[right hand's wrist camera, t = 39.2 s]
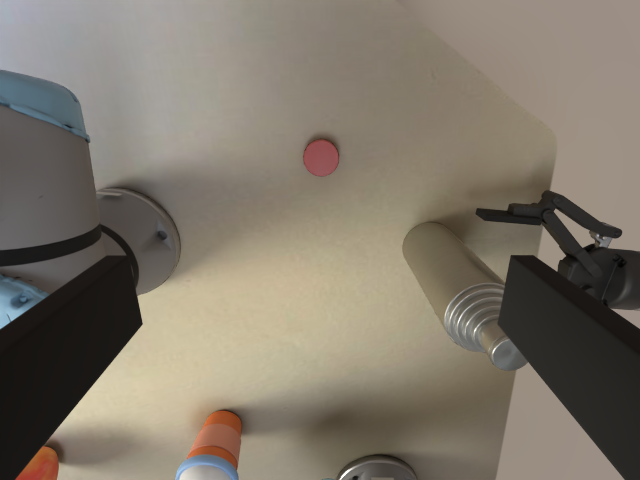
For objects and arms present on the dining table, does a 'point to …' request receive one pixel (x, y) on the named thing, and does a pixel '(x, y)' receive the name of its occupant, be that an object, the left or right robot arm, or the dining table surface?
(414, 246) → the bottle
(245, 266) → the dining table surface
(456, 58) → the dining table surface
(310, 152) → the cap
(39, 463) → the apple
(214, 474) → the cup with straw
